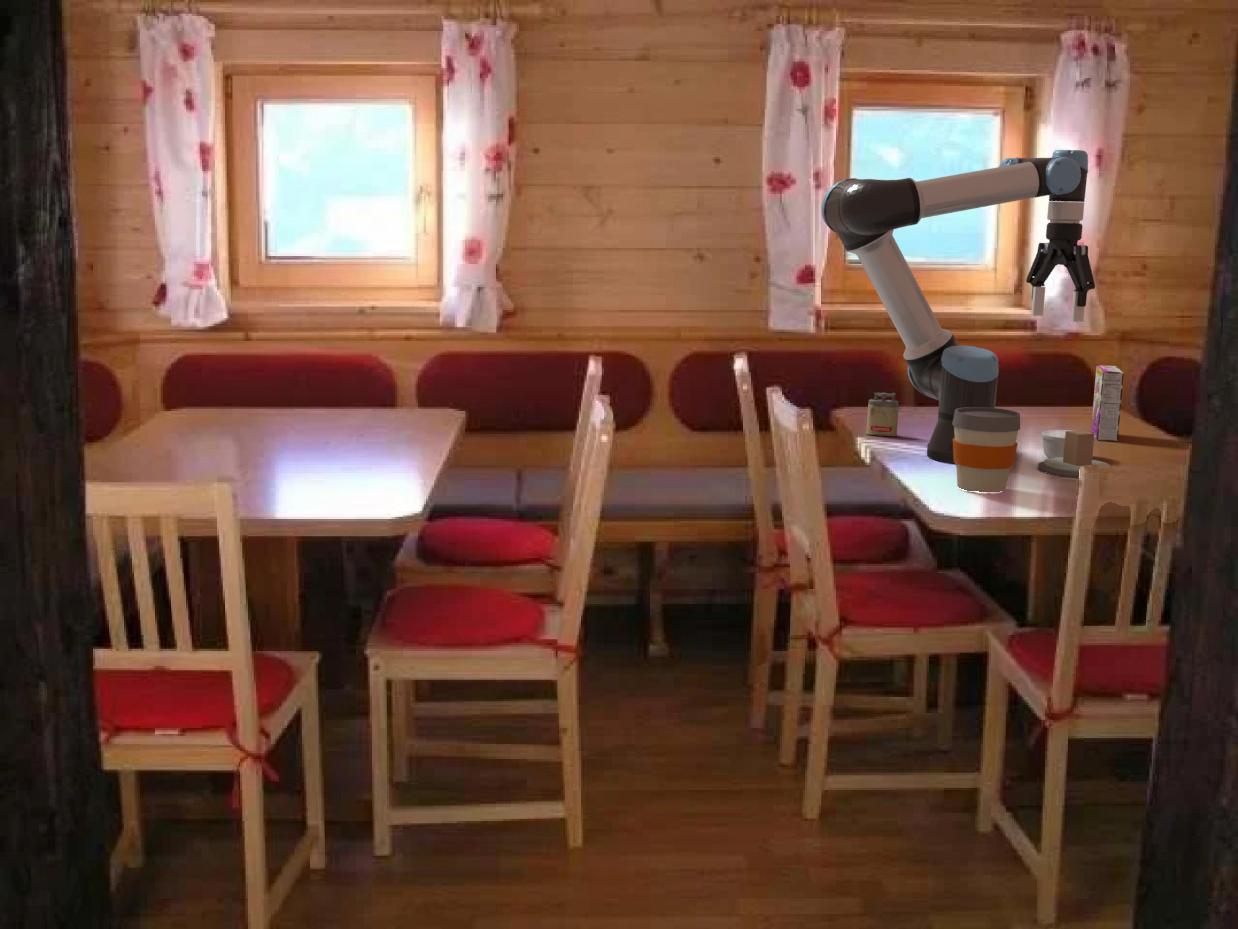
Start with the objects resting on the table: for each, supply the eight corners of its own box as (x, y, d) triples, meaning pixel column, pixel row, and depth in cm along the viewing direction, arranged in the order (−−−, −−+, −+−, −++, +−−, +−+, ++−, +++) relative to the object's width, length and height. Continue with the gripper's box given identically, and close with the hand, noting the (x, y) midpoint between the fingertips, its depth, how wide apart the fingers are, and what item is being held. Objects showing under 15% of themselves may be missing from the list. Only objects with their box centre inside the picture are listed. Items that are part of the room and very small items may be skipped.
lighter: (865, 435, 314) (868, 392, 312) (866, 432, 317) (869, 390, 315) (896, 437, 312) (899, 394, 310) (897, 434, 316) (900, 392, 314)
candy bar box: (1089, 432, 324) (1095, 364, 321) (1111, 433, 323) (1117, 365, 320) (1095, 440, 314) (1102, 370, 310) (1118, 441, 313) (1125, 371, 309)
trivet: (1070, 480, 269) (1070, 476, 268) (1022, 465, 282) (1023, 462, 282) (1130, 476, 274) (1130, 472, 274) (1080, 462, 288) (1080, 458, 287)
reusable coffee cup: (1025, 496, 253) (1031, 417, 250) (960, 496, 252) (966, 417, 249) (1001, 482, 266) (1007, 407, 263) (939, 481, 265) (944, 406, 262)
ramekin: (1029, 454, 296) (1031, 430, 295) (1069, 451, 300) (1071, 428, 299) (1063, 464, 286) (1065, 439, 285) (1105, 461, 290) (1107, 437, 289)
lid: (1071, 475, 270) (1075, 439, 268) (1030, 462, 282) (1033, 428, 280) (1124, 471, 274) (1127, 436, 273) (1081, 459, 286) (1084, 425, 285)
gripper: (1118, 223, 286) (1108, 323, 290) (1042, 220, 309) (1034, 312, 313) (1089, 223, 283) (1080, 324, 288) (1015, 219, 306) (1007, 313, 310)
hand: (1056, 318), depth 300 cm, fingers open, 13 cm apart
